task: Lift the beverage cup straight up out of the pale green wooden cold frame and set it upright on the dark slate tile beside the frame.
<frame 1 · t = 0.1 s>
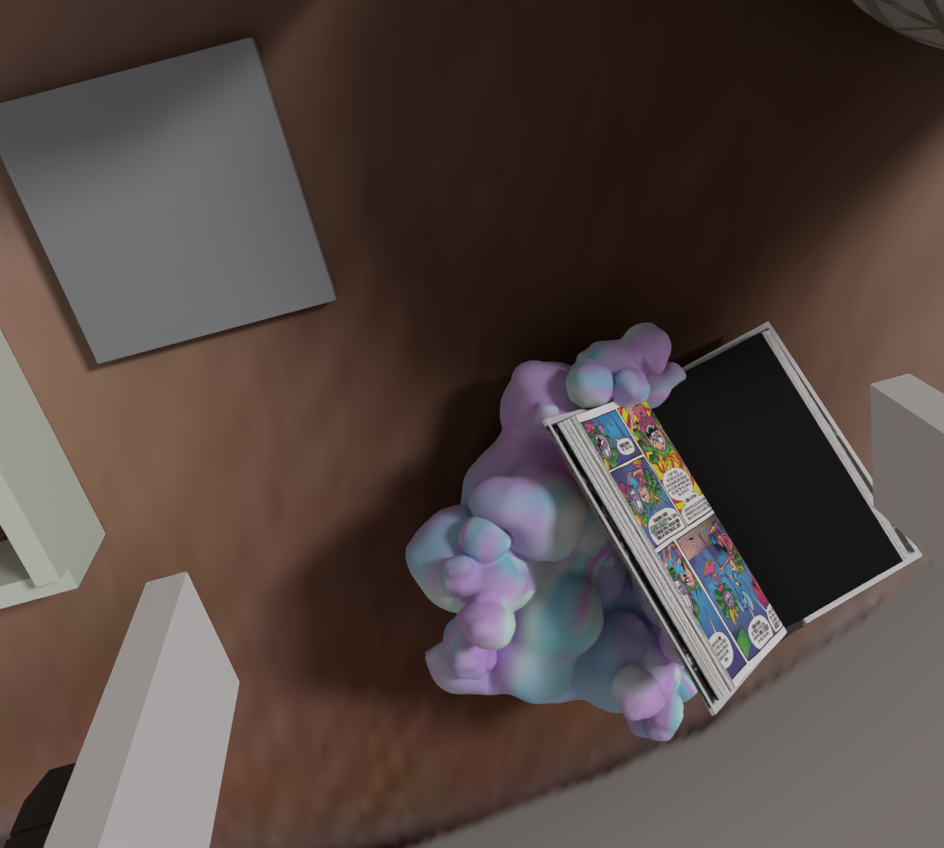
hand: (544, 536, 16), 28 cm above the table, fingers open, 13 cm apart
slate tile: (174, 207, 39), on the table
pastel lumpy cloud blob: (593, 471, 48), on the table
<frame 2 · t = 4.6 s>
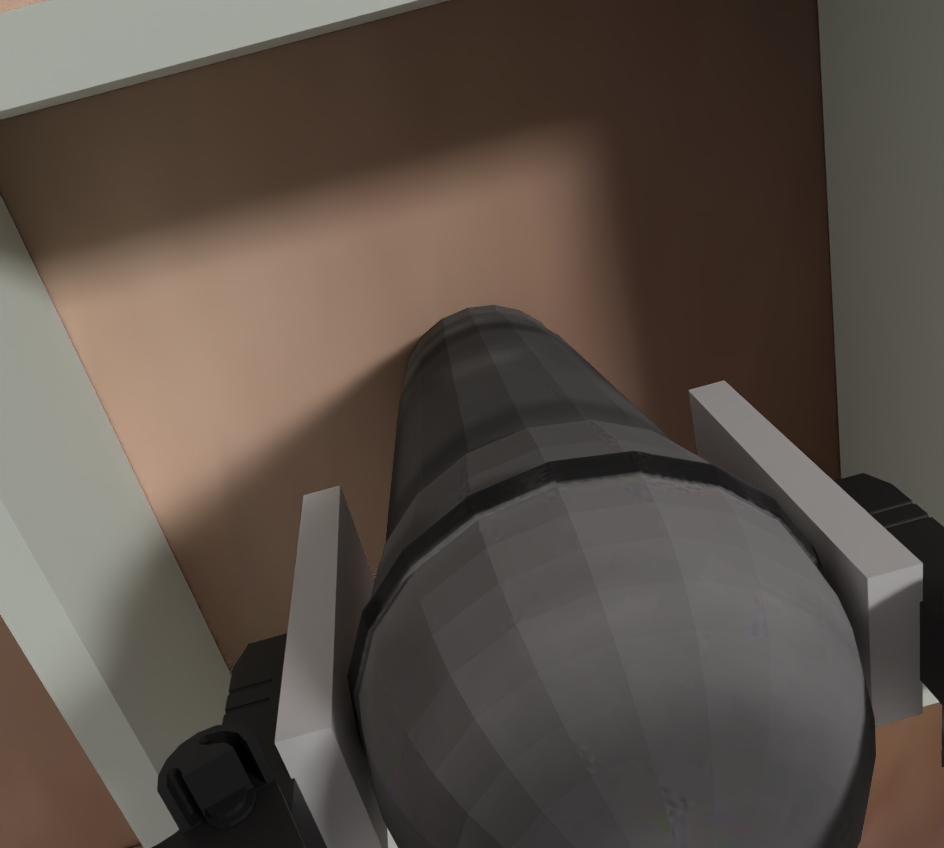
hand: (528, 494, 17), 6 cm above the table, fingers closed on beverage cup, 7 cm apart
beverage cup: (485, 382, 23), resting in cold frame, touching gripper
cold frame: (486, 385, 23), on the table
when the fingers open (9 cm above the table, at t = 11.4 s): beverage cup drops 1 cm, resting on slate tile.
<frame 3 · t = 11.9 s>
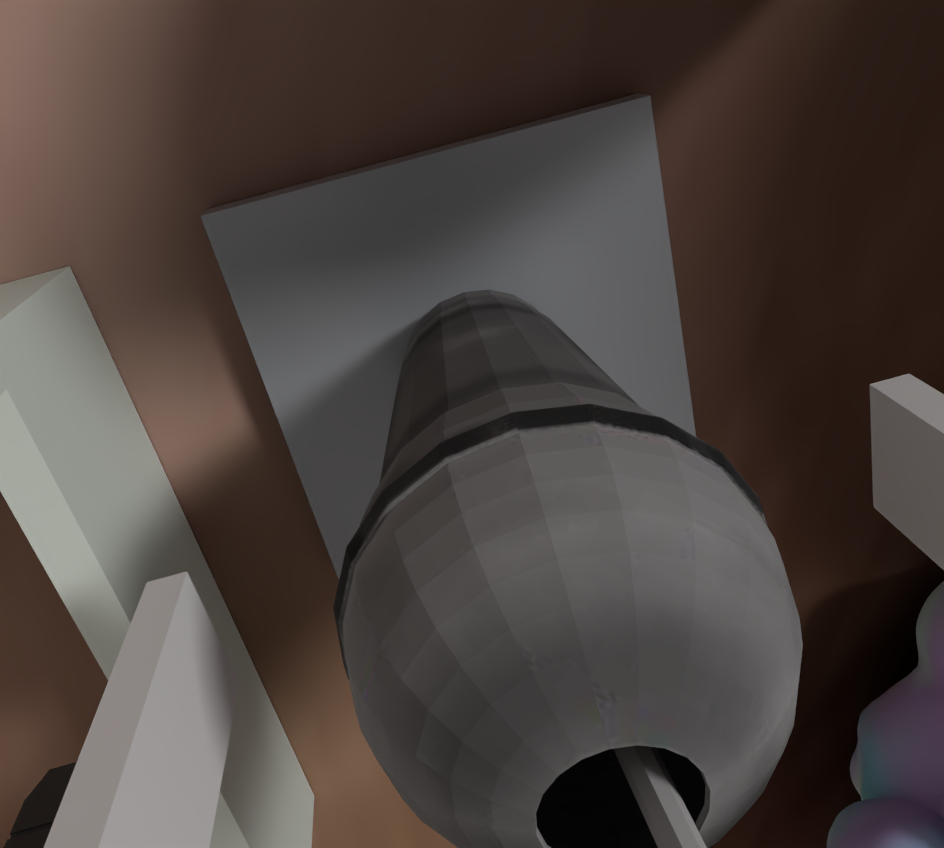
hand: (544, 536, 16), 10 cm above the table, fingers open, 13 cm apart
slate tile: (474, 354, 25), on the table
beverage cup: (481, 363, 24), point 1 cm above the table, touching slate tile
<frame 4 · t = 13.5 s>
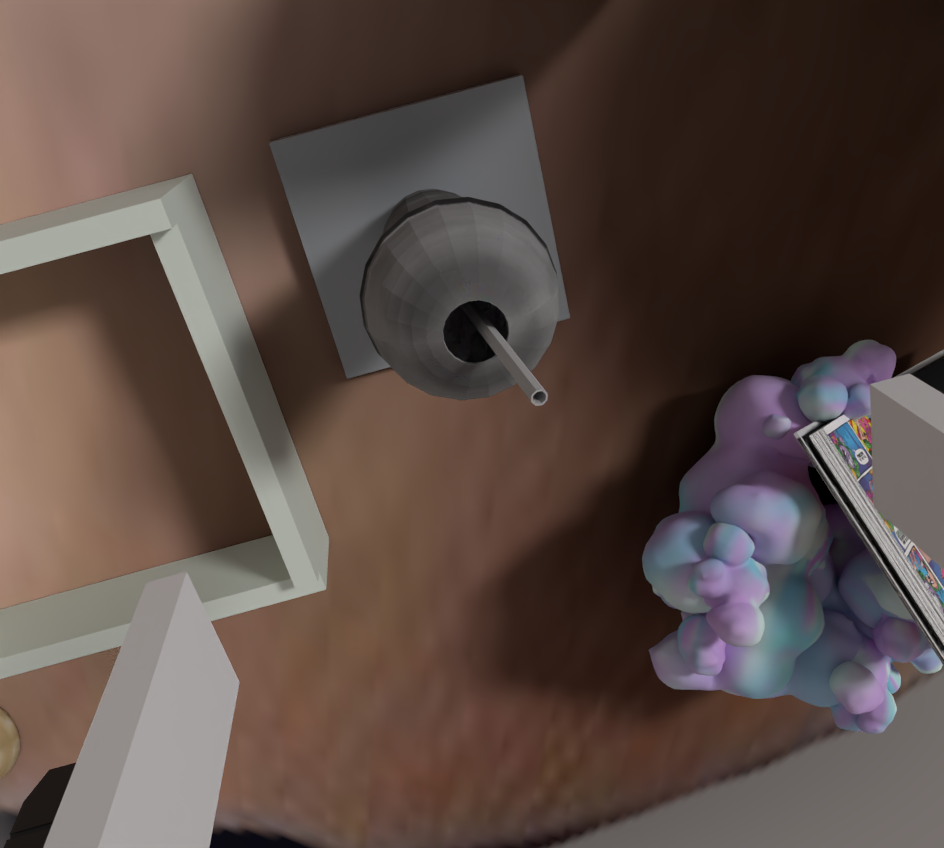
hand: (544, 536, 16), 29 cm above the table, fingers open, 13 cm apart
slate tile: (427, 232, 42), on the table
beverage cup: (430, 235, 41), point 1 cm above the table, touching slate tile
cold frame: (63, 430, 43), on the table
pastel lumpy cloud blob: (781, 478, 51), on the table
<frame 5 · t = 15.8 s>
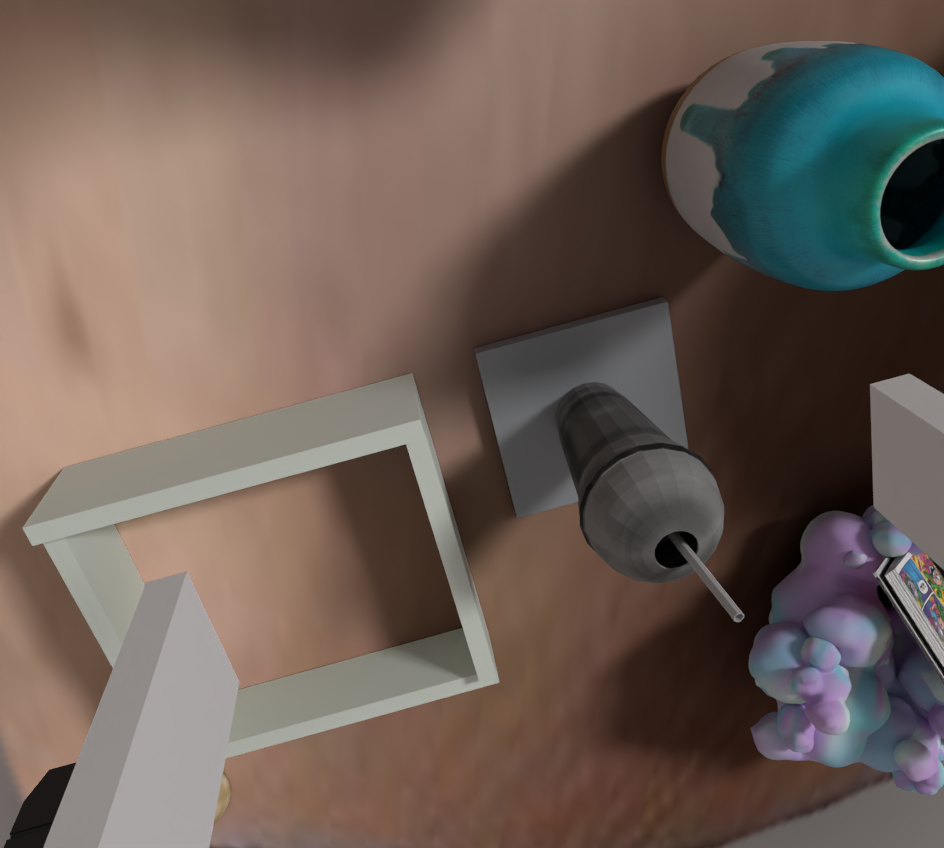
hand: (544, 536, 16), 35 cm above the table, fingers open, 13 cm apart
slate tile: (585, 408, 54), on the table
beverage cup: (589, 413, 53), point 1 cm above the table, touching slate tile
cold frame: (294, 558, 56), on the table
vase: (726, 142, 48), on the table
hand bell: (174, 790, 63), on the table
pastel lumpy cloud blob: (847, 581, 63), on the table
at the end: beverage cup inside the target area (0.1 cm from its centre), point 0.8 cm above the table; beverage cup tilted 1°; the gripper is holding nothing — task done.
